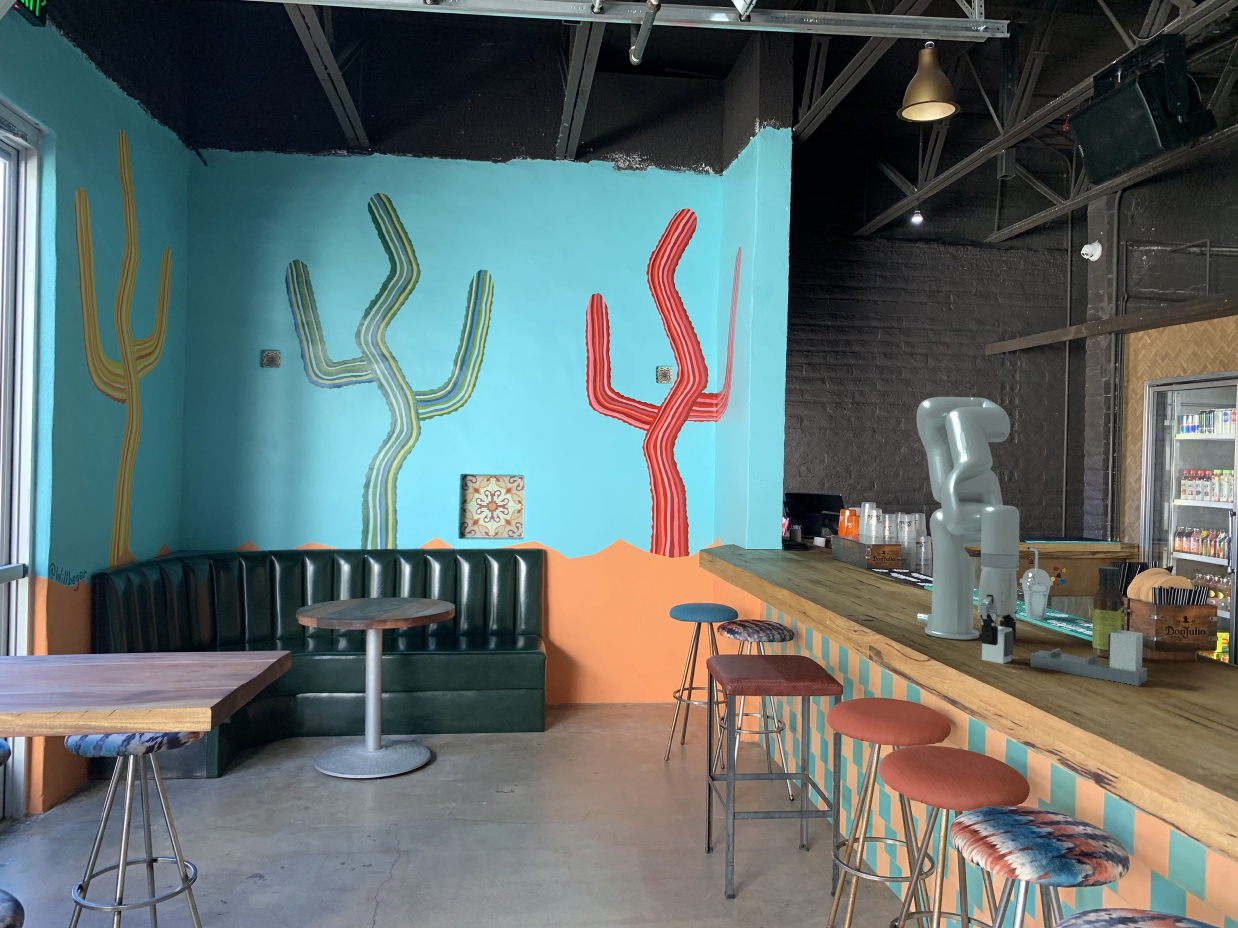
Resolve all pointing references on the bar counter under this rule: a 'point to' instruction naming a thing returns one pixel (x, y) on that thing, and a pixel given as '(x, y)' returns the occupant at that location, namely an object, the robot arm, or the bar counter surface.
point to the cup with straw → (1035, 590)
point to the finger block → (1000, 647)
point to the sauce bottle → (1107, 610)
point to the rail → (1120, 668)
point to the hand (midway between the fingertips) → (998, 641)
